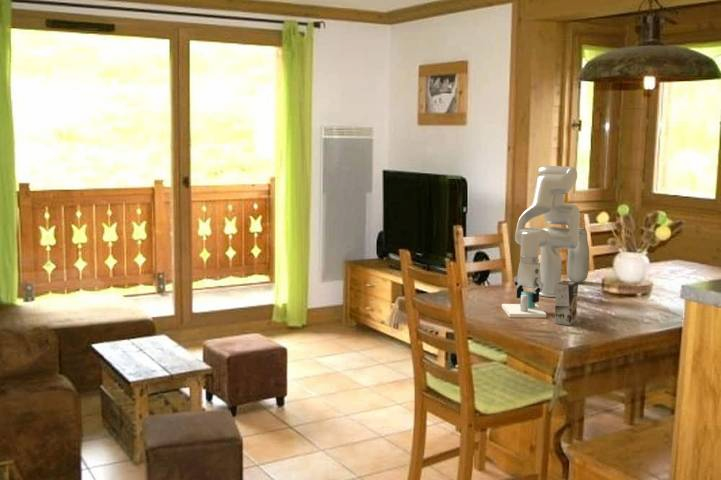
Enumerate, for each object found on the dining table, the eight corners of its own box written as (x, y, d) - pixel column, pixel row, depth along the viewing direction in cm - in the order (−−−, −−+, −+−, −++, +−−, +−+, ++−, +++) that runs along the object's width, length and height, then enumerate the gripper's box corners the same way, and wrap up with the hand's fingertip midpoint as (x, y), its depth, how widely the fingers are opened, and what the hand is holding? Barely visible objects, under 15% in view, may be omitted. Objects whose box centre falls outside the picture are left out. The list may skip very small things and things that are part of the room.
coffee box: (569, 325, 306) (572, 285, 303) (553, 323, 309) (555, 283, 307) (576, 320, 313) (578, 281, 311) (561, 318, 317) (563, 279, 314)
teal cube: (537, 307, 330) (538, 293, 329) (527, 308, 327) (527, 294, 327) (528, 304, 335) (528, 290, 335) (517, 305, 333) (518, 291, 332)
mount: (536, 307, 336) (537, 289, 335) (546, 317, 318) (547, 298, 317) (501, 307, 336) (502, 289, 335) (509, 317, 318) (510, 298, 317)
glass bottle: (570, 279, 399) (573, 225, 395) (590, 282, 393) (593, 227, 389) (563, 282, 391) (566, 227, 387) (583, 285, 386) (586, 229, 382)
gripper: (550, 262, 323) (548, 303, 325) (522, 256, 338) (520, 295, 340) (536, 264, 319) (534, 305, 322) (508, 257, 334) (507, 297, 337)
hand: (527, 300), depth 331 cm, fingers open, 9 cm apart
